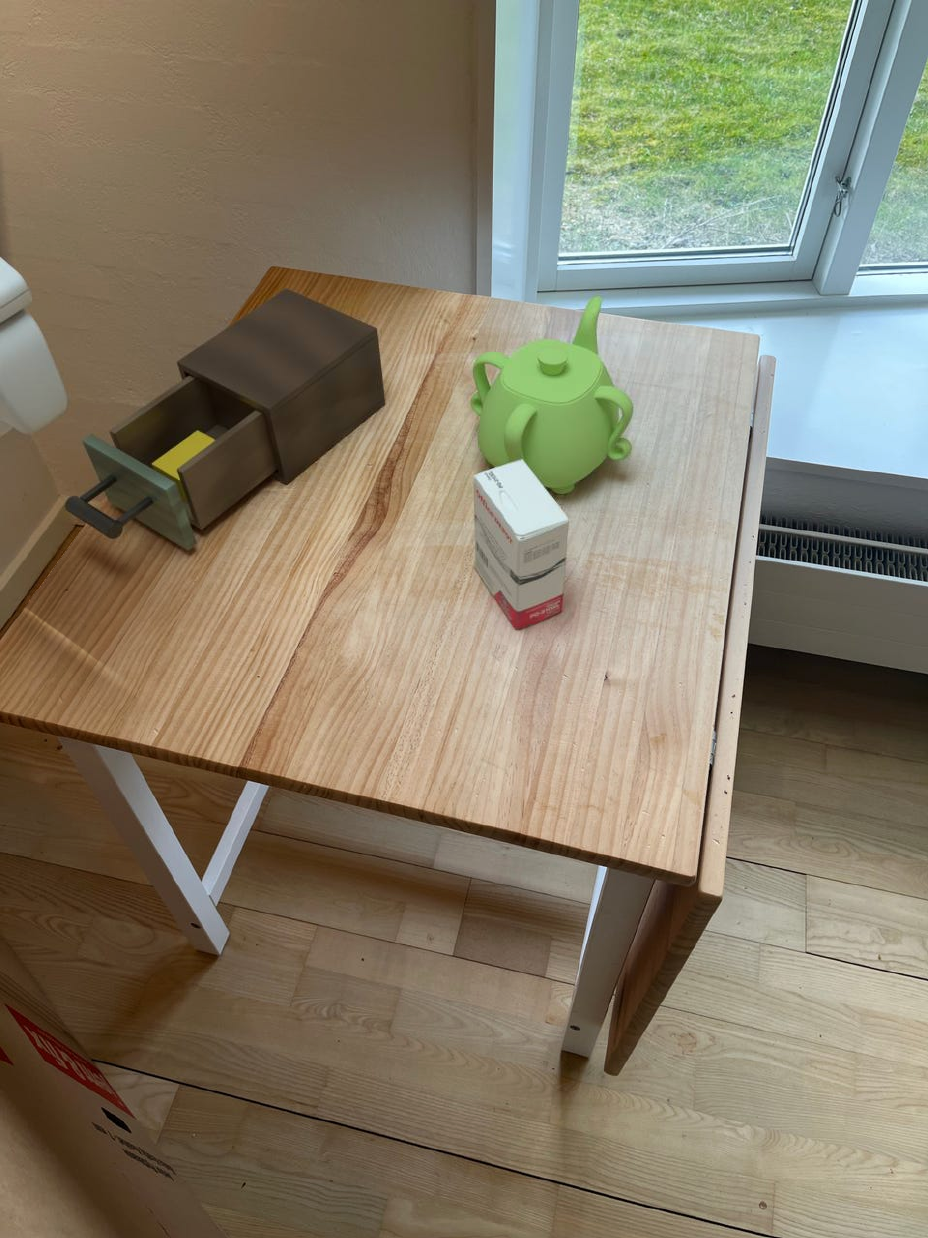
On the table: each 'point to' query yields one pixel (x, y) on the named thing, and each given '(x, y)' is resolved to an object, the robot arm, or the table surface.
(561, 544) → the ink box
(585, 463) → the teapot
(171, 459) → the sponge
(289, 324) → the cabinet
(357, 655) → the table surface
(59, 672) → the table surface
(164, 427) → the drawer
